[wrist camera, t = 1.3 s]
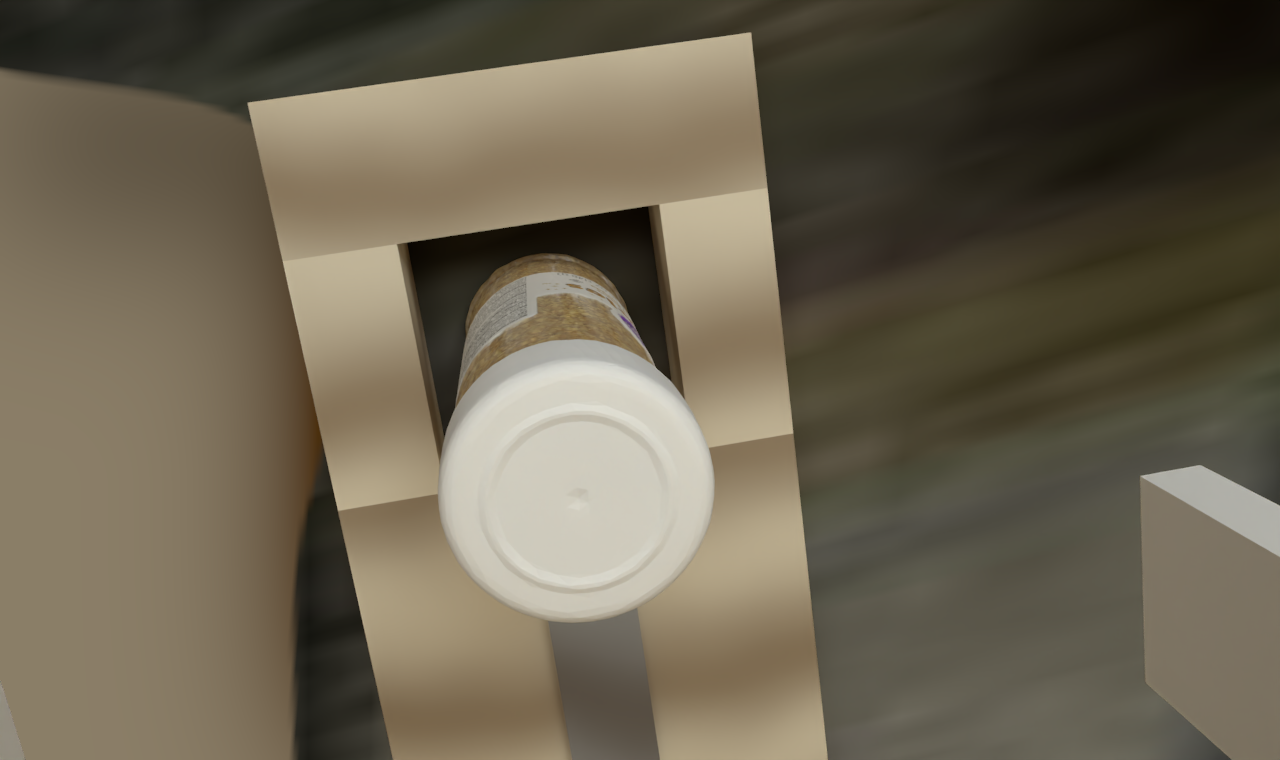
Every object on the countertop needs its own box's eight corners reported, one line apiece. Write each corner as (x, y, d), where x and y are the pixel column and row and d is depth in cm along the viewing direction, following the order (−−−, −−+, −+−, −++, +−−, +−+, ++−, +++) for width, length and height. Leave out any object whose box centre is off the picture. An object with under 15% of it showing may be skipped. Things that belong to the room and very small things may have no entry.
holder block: (268, 101, 29) (244, 102, 26) (730, 37, 30) (753, 31, 27) (428, 838, 34) (422, 902, 32) (810, 763, 35) (836, 819, 33)
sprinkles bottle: (662, 330, 31) (778, 497, 18) (546, 443, 32) (580, 685, 19) (544, 213, 30) (579, 302, 17) (426, 332, 30) (373, 508, 18)
